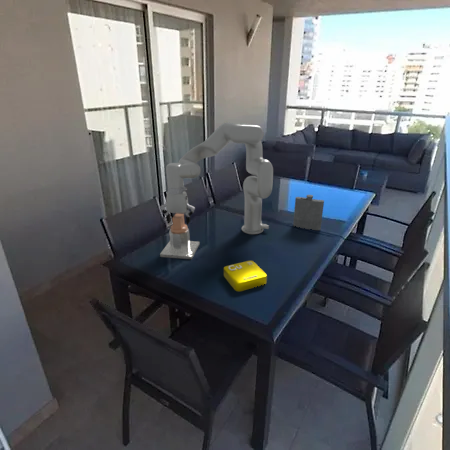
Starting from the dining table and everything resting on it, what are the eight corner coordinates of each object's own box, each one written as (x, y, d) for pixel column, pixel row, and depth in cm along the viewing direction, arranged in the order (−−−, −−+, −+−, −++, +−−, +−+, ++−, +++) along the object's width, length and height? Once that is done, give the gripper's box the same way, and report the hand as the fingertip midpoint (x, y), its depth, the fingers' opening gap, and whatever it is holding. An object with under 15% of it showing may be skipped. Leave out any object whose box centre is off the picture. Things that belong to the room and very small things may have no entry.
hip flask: (321, 228, 186) (325, 196, 178) (319, 231, 183) (323, 198, 174) (293, 224, 192) (296, 192, 184) (292, 226, 189) (294, 194, 181)
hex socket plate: (199, 244, 170) (198, 224, 165) (191, 259, 155) (190, 238, 151) (170, 242, 172) (169, 222, 168) (160, 256, 158) (158, 236, 153)
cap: (190, 232, 164) (188, 213, 159) (185, 239, 156) (184, 219, 152) (174, 231, 165) (172, 212, 161) (168, 238, 157) (167, 218, 153)
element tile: (236, 293, 131) (236, 283, 129) (222, 274, 144) (222, 265, 142) (268, 284, 136) (268, 275, 134) (251, 267, 149) (252, 258, 147)
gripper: (195, 188, 152) (197, 220, 159) (161, 186, 155) (164, 218, 162) (191, 193, 146) (193, 227, 153) (155, 191, 148) (159, 225, 156)
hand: (178, 222), depth 158 cm, fingers open, 9 cm apart
